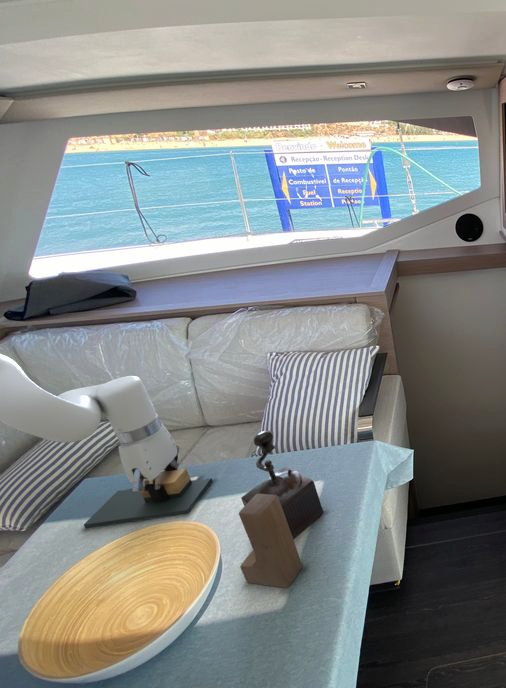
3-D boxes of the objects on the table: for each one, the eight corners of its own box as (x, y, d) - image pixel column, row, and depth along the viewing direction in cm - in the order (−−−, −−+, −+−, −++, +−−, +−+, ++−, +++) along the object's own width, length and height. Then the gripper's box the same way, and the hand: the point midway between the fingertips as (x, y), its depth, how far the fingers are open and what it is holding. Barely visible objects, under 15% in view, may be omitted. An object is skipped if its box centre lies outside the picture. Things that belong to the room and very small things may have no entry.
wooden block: (246, 583, 77) (214, 510, 71) (263, 561, 81) (235, 490, 75) (288, 589, 76) (259, 515, 69) (303, 566, 80) (278, 494, 73)
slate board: (85, 528, 93) (83, 524, 92) (119, 493, 102) (117, 490, 102) (188, 513, 94) (186, 509, 94) (213, 480, 104) (211, 477, 103)
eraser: (145, 502, 97) (137, 487, 96) (158, 487, 102) (151, 473, 100) (181, 497, 98) (174, 482, 96) (192, 482, 102) (186, 468, 101)
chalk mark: (186, 478, 105) (186, 480, 105) (183, 481, 104) (183, 483, 104) (198, 476, 105) (199, 478, 105) (195, 479, 104) (196, 481, 104)
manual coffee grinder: (327, 510, 92) (308, 444, 86) (280, 550, 83) (254, 481, 77) (286, 486, 100) (265, 425, 94) (239, 521, 91) (213, 455, 85)
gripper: (148, 409, 101) (175, 469, 107) (90, 457, 85) (126, 523, 91) (180, 405, 101) (205, 464, 108) (129, 452, 86) (162, 518, 92)
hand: (168, 491), depth 100 cm, fingers closed on eraser, 4 cm apart
